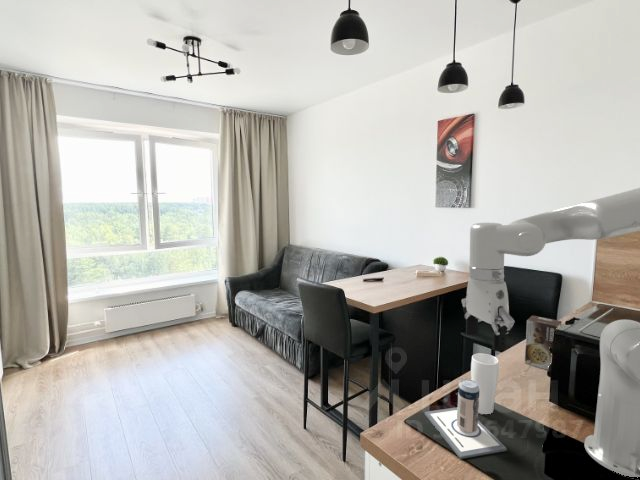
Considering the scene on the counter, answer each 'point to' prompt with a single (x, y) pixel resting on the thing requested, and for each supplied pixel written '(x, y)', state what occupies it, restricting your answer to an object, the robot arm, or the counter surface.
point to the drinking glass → (485, 380)
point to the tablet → (464, 435)
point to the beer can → (468, 405)
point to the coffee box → (539, 341)
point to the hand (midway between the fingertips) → (484, 341)
